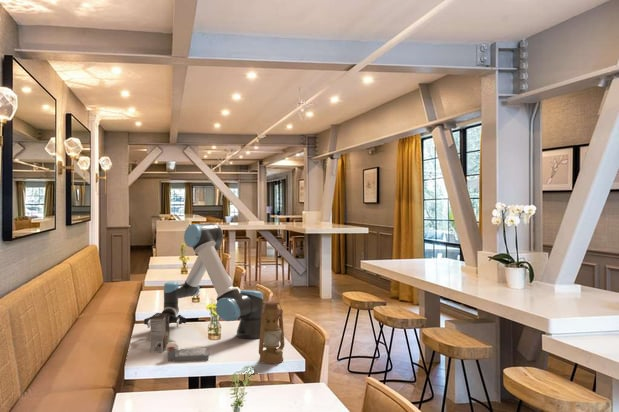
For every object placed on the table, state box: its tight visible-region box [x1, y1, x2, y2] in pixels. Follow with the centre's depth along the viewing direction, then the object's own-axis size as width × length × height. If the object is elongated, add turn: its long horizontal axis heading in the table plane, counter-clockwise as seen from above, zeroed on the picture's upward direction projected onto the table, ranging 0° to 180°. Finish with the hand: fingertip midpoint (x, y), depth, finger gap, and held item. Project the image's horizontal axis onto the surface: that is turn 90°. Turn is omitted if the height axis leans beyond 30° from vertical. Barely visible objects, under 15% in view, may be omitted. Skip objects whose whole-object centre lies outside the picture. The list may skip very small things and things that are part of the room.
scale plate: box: [179, 347, 207, 356], centre depth 222 cm, size 11×9×1 cm
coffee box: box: [149, 312, 170, 353], centre depth 235 cm, size 9×6×16 cm
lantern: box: [258, 290, 285, 365], centre depth 218 cm, size 15×10×30 cm
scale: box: [165, 341, 210, 363], centre depth 222 cm, size 18×10×8 cm, turn 98°
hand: (162, 324), depth 244 cm, fingers open, 13 cm apart
